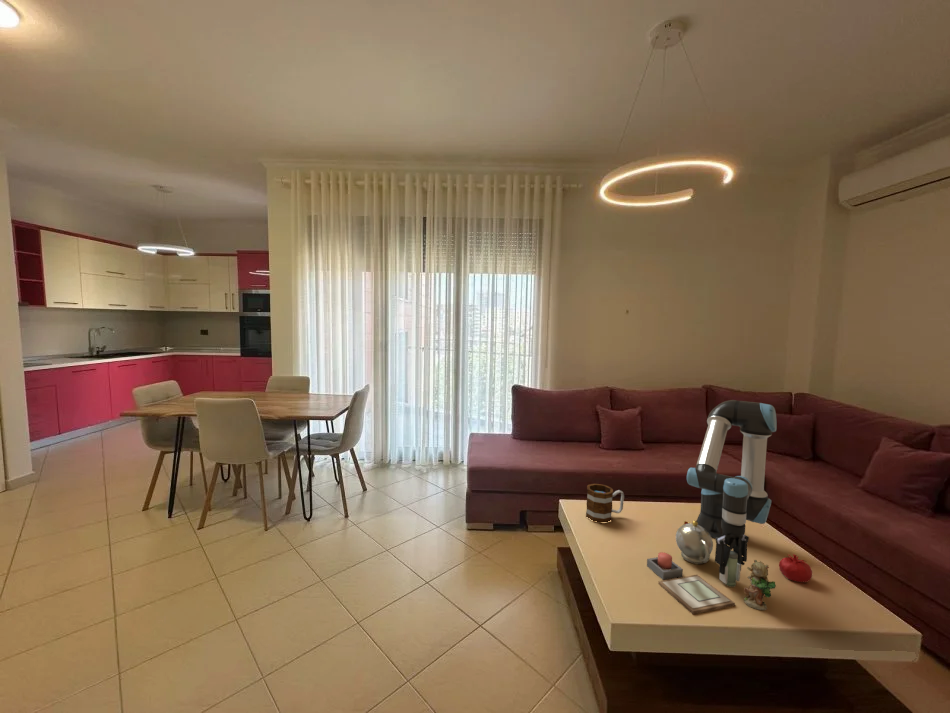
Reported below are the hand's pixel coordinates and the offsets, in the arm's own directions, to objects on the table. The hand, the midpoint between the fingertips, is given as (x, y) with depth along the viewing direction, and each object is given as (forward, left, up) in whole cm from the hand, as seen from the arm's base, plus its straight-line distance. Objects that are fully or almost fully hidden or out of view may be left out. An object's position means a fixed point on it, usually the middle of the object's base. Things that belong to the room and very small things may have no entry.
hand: (729, 580), depth 145 cm
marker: (0, 0, -1) cm, 1 cm away
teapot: (+1, -15, -1) cm, 15 cm away
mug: (+16, -57, -2) cm, 59 cm away
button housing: (+19, -12, -1) cm, 23 cm away
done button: (+19, -12, +1) cm, 22 cm away
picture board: (+18, +2, -1) cm, 18 cm away
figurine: (+1, +12, -1) cm, 12 cm away
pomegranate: (-29, +3, -2) cm, 29 cm away
